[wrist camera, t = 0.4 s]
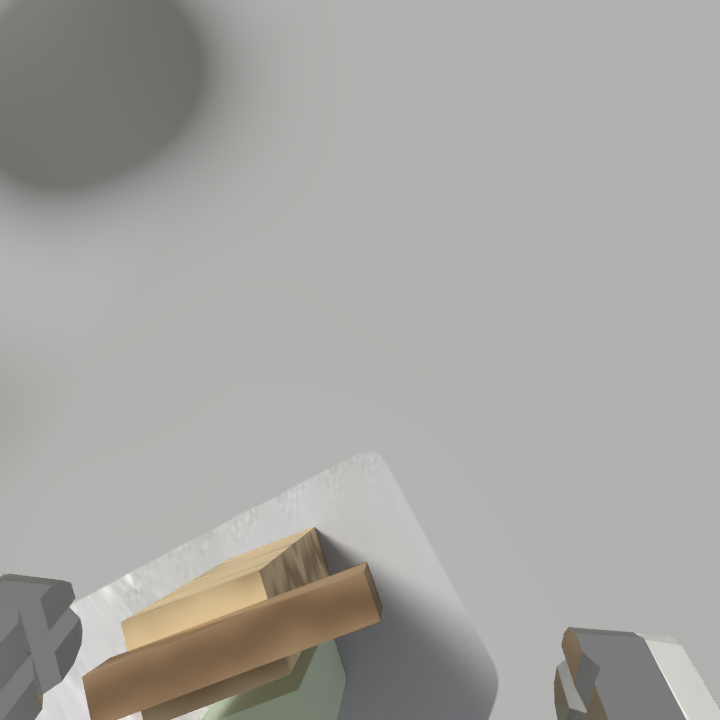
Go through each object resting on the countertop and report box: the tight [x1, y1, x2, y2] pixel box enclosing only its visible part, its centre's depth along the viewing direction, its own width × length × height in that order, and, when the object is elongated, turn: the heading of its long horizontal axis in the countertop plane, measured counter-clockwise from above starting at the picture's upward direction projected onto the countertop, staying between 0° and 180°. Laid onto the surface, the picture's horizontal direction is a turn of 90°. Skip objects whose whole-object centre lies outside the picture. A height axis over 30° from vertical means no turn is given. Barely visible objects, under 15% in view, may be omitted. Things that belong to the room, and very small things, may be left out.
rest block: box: [202, 639, 347, 720], centre depth 52 cm, size 7×10×19 cm
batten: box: [82, 562, 382, 720], centre depth 37 cm, size 4×22×4 cm, turn 110°
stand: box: [121, 527, 330, 720], centre depth 51 cm, size 8×12×26 cm, turn 110°
